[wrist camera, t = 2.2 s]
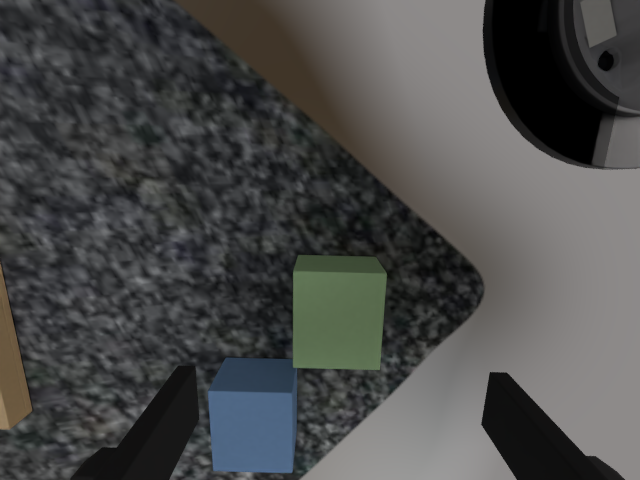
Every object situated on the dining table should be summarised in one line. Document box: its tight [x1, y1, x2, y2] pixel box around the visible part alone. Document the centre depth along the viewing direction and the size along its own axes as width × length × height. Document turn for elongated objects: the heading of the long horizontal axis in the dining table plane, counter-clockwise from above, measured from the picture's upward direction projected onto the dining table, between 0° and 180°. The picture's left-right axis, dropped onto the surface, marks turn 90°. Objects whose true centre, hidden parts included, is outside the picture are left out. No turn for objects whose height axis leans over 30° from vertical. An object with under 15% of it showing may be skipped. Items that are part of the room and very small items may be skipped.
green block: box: [293, 255, 387, 370], centre depth 22 cm, size 6×7×4 cm
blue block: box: [208, 357, 297, 473], centre depth 24 cm, size 6×7×4 cm
